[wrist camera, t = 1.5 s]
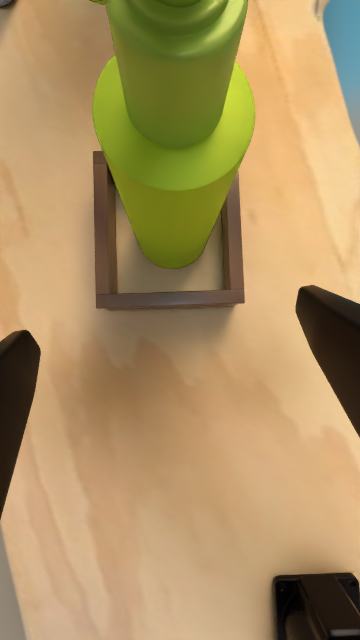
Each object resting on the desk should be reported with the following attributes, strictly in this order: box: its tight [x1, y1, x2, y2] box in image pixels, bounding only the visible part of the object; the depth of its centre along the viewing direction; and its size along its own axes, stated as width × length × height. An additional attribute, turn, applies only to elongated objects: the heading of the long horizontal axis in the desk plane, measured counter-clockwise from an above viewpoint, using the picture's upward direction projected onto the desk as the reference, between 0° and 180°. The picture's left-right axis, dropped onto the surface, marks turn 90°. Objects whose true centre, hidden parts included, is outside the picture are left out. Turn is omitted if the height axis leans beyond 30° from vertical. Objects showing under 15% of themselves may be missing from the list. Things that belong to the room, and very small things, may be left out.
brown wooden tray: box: [93, 151, 245, 310], centre depth 21 cm, size 12×11×3 cm
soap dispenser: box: [90, 0, 255, 269], centre depth 13 cm, size 6×7×20 cm
